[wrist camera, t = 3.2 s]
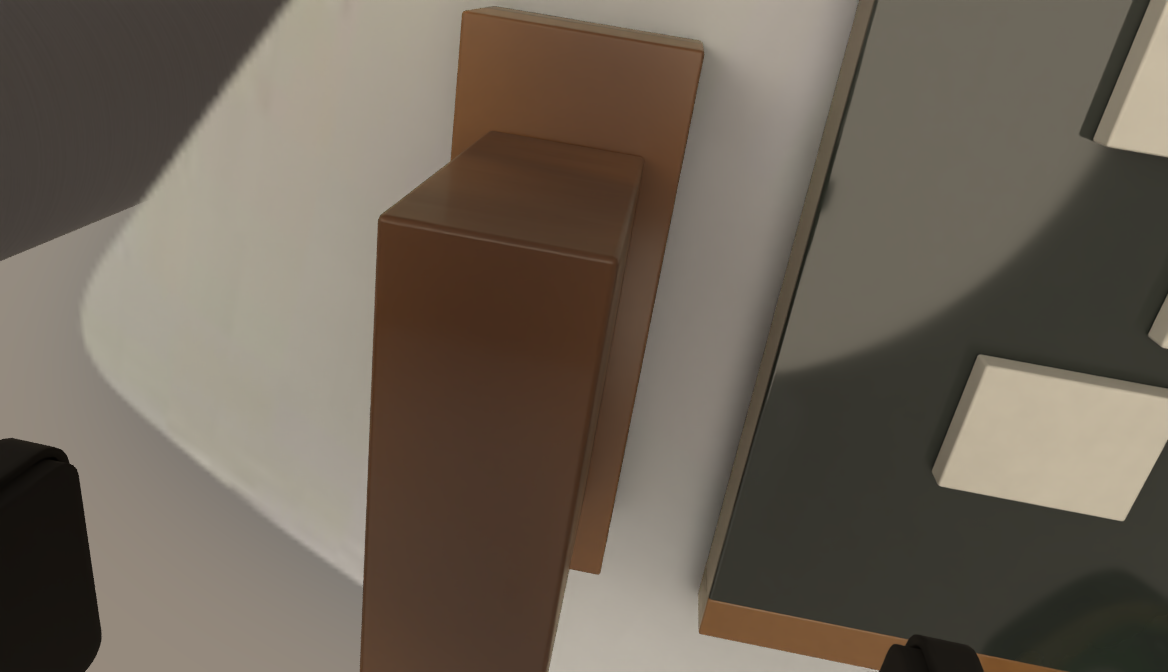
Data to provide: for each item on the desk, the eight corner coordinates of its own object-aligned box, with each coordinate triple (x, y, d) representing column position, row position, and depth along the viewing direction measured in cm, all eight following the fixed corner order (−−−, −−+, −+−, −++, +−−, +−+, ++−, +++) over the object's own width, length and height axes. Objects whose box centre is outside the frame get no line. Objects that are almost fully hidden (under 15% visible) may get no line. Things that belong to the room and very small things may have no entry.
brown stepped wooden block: (448, 483, 22) (315, 759, 14) (492, 5, 17) (321, 31, 9) (608, 515, 21) (563, 813, 14) (703, 41, 16) (714, 97, 9)
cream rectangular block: (929, 471, 18) (937, 487, 17) (977, 352, 17) (987, 365, 16) (1111, 506, 18) (1124, 522, 17) (1173, 389, 17) (1189, 402, 16)
